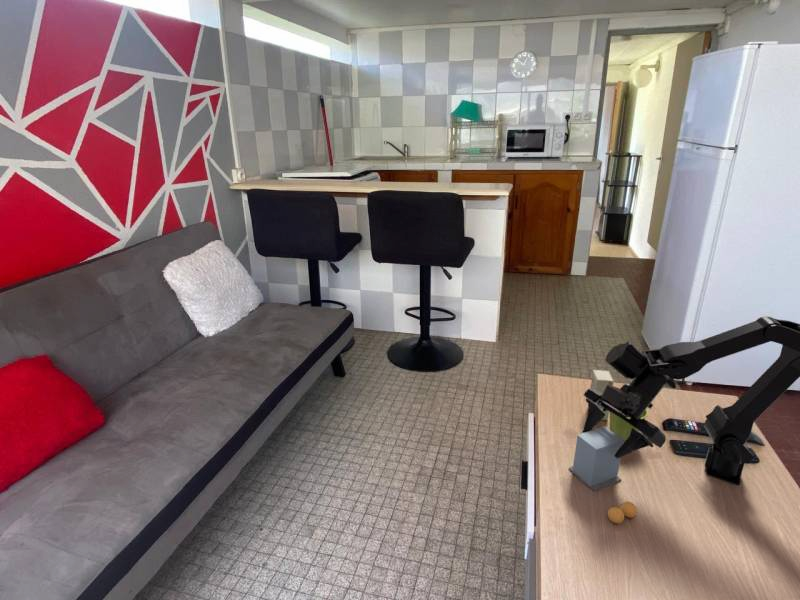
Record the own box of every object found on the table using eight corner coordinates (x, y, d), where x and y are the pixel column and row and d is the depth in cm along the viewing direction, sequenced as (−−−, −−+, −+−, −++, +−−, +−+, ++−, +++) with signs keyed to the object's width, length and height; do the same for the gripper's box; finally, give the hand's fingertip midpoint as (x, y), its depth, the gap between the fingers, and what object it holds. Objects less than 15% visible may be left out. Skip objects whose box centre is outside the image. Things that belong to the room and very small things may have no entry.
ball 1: (624, 519, 95) (626, 508, 94) (621, 529, 93) (623, 517, 92) (609, 513, 97) (611, 501, 96) (605, 522, 94) (607, 510, 93)
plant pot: (636, 427, 124) (641, 399, 121) (647, 449, 115) (653, 420, 112) (599, 424, 126) (603, 396, 123) (607, 446, 117) (612, 416, 114)
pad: (594, 459, 112) (594, 458, 112) (621, 480, 105) (621, 479, 105) (568, 468, 109) (568, 467, 109) (594, 491, 102) (594, 490, 102)
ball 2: (637, 513, 96) (639, 502, 95) (634, 523, 94) (636, 511, 93) (621, 507, 98) (623, 496, 97) (618, 516, 96) (620, 505, 95)
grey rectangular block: (598, 461, 111) (604, 426, 108) (617, 476, 106) (623, 440, 103) (572, 470, 108) (577, 434, 105) (590, 486, 103) (596, 449, 100)
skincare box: (608, 421, 127) (614, 381, 123) (591, 419, 128) (597, 380, 124) (603, 408, 133) (609, 370, 129) (587, 406, 134) (592, 368, 130)
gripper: (594, 356, 109) (552, 408, 108) (666, 395, 93) (618, 456, 92) (614, 378, 114) (574, 428, 114) (685, 418, 98) (640, 476, 98)
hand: (599, 445), depth 104 cm, fingers open, 9 cm apart
